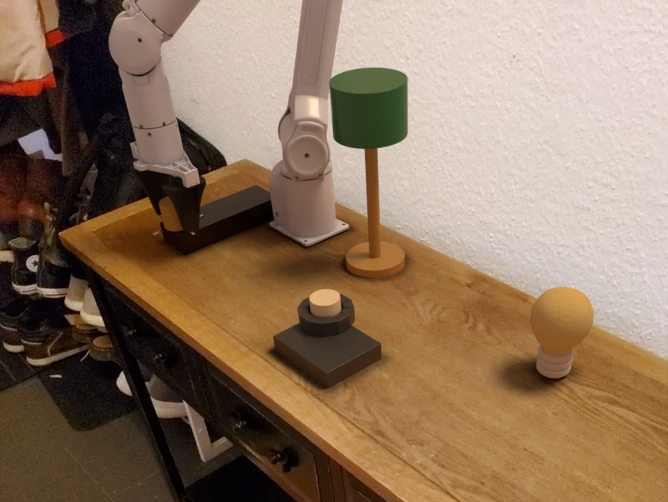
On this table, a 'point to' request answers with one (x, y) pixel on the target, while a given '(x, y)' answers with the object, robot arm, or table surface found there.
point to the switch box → (327, 344)
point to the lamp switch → (325, 303)
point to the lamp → (371, 150)
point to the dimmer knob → (169, 215)
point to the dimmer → (223, 220)
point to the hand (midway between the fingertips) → (177, 221)
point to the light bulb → (560, 328)
